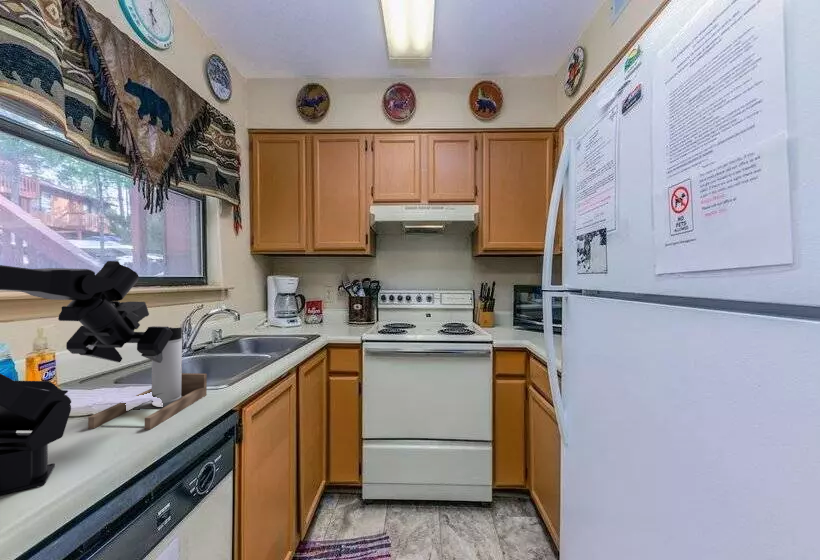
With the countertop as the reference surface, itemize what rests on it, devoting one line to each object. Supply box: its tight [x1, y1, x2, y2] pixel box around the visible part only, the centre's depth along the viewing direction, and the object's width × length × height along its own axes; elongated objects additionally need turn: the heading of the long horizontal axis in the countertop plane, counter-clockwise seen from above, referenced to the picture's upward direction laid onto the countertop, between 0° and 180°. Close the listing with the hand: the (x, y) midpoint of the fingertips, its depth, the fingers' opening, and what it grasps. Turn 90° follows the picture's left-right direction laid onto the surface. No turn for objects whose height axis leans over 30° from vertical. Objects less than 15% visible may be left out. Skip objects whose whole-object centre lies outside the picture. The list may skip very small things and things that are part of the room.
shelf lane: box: [87, 372, 208, 431], centre depth 83 cm, size 21×13×6 cm, turn 1°
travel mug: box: [151, 327, 183, 408], centre depth 87 cm, size 6×7×20 cm
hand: (140, 360), depth 79 cm, fingers open, 9 cm apart
